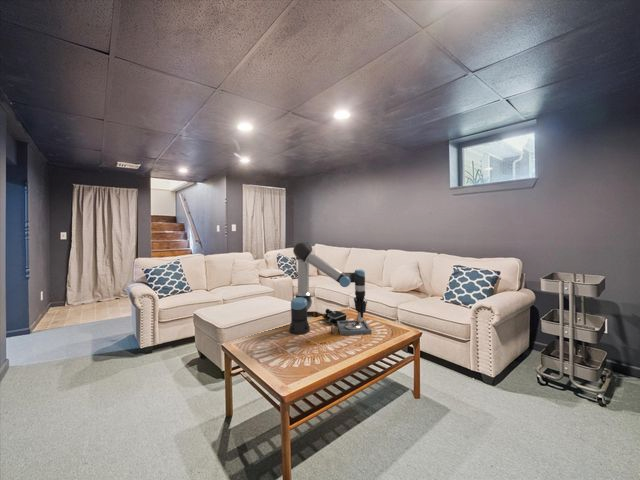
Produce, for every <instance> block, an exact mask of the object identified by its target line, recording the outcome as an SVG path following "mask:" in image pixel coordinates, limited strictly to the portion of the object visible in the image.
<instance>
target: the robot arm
mask: <svg viewBox="0 0 640 480" xmlns="http://www.w3.org/2000/svg"><path fill="white" fill-rule="evenodd" d="M292 251H293V254H294V256H295V259H296V261H297V292H296V293H295V298H293V299H291V300H290V314H291V315H290V317H291V318H290V319H291V321H290V324H289V327H288V330H289V331H288V332H289V333H291V334H293V335H305V334H308V333H309V332H310V330H311V327H310V324H309V321H308V311H309V309H310V308H311V307H312V303H313V301H312V298H311V297H312V293H311V292H310V291H309V290H310V265H311V266H312V267H314V268H316V269H317V270H319V271H320V272H321V273H323V274H325V275H326V276H328V277H329V278H331V279H332V280H334V282H335V281H336V282H337V283H339V285H340V286H341V287H343V288H347V287H349V286H350V285H351V283H352V284H353V283H354V290H355V291H354V296H355V297H354V298H353V302H354V307H355V311H356V313H357V316H358V321H360V322H362V321H363V320H364V314H365V313H366V309H367V303H368V300H366V298H365V296H366V273H365V270H364V269H355V270H354V272H342V271H341V270H339V269H338V268H336V267H335V266H333V265H331V264H330V263H329V262H327V261H325V260H324V259H322V258H321V257H320V256H318V255H316V254H315V253H314V252H313V246H312V244H311V243H309V242H308V241H300V242H297V243H296V244H295V245H294V246H293V249H292Z"/></svg>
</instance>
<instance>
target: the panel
mask: <svg viewBox="0 0 640 480" xmlns="http://www.w3.org/2000/svg"><path fill="white" fill-rule="evenodd" d="M347 323H357V319H355V320H351V319H350V320H346V321H337V324H336V326H337V328H338V332H339V334H340V336H344V335H345V336H348V335H370V334H372V329H371V327H370V326H369V324H368V322H367V321H366V320H365V319H363V321H362V322H360V323H359V324H361V325H362V329H359V330H348V329H346V328H345V324H347Z"/></svg>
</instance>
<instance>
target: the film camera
mask: <svg viewBox="0 0 640 480" xmlns="http://www.w3.org/2000/svg"><path fill="white" fill-rule="evenodd" d="M321 316H322V317H321V318H323V319H326V321H327V323H329V324H331V325H332V324H333V326H335V325H336V326H337V321H347V313H345V312H342V311H340V310H331V309H330V308H326V309H325V313H323V314H322V315H321Z"/></svg>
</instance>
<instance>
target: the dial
mask: <svg viewBox="0 0 640 480" xmlns="http://www.w3.org/2000/svg"><path fill="white" fill-rule="evenodd" d="M356 320H357V323H347V324H345V328H346V329H348V330H359V329H362V325H361V324H359V323H360V321H358V315H356Z"/></svg>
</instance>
